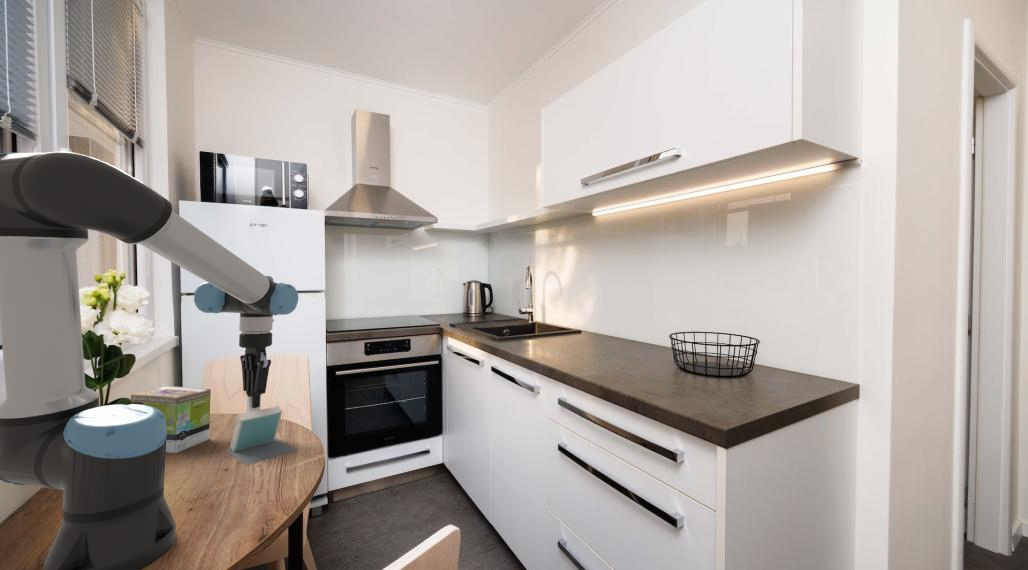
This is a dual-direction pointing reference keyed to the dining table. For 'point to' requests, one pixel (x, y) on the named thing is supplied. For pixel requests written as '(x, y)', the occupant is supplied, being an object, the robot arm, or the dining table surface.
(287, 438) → the dining table surface
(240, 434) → the tile
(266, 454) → the mat
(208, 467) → the dining table surface
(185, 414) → the tea box
